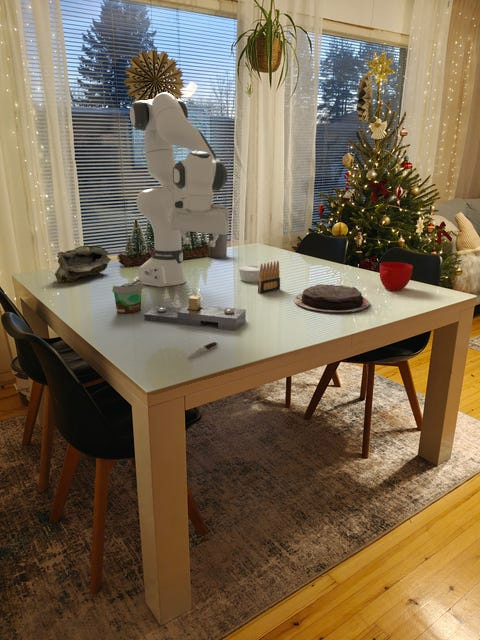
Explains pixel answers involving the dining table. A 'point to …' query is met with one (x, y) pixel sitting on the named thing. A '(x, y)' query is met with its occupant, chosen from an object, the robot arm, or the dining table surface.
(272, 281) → the ammunition clip
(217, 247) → the pillar candle
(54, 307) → the dining table surface
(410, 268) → the ceramic cup
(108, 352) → the dining table surface
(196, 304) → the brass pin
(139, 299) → the food container
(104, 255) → the hollow geode rock
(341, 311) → the chocolate cake
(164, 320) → the lower chain end
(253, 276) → the ramekin
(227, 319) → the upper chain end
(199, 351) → the pocket knife
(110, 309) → the dining table surface
